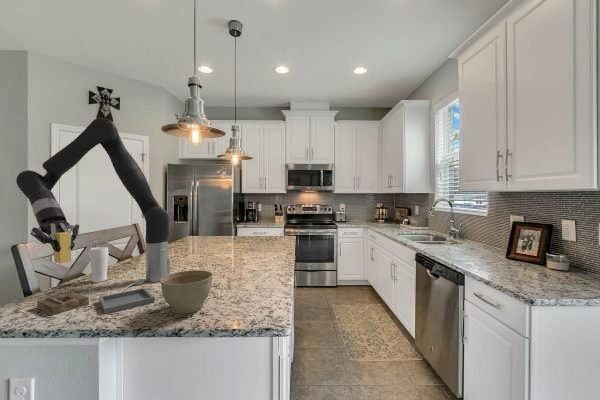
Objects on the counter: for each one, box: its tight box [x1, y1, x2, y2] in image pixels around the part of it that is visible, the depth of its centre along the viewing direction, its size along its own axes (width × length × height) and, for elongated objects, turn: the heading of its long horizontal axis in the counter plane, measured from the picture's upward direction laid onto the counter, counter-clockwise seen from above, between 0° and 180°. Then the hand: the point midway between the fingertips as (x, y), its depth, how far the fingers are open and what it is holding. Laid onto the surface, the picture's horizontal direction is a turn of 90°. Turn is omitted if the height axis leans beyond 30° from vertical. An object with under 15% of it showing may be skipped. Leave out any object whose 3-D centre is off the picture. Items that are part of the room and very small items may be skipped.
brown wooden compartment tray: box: [36, 291, 90, 316], centre depth 95 cm, size 10×12×3 cm
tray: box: [98, 287, 156, 315], centre depth 98 cm, size 15×15×2 cm
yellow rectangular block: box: [53, 232, 72, 264], centre depth 95 cm, size 3×4×10 cm, turn 62°
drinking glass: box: [89, 246, 109, 283], centre depth 125 cm, size 7×7×15 cm
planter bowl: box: [159, 269, 213, 315], centre depth 92 cm, size 16×16×11 cm
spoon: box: [114, 278, 146, 294], centre depth 113 cm, size 4×21×2 cm, turn 176°
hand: (65, 249), depth 94 cm, fingers closed on yellow rectangular block, 3 cm apart
